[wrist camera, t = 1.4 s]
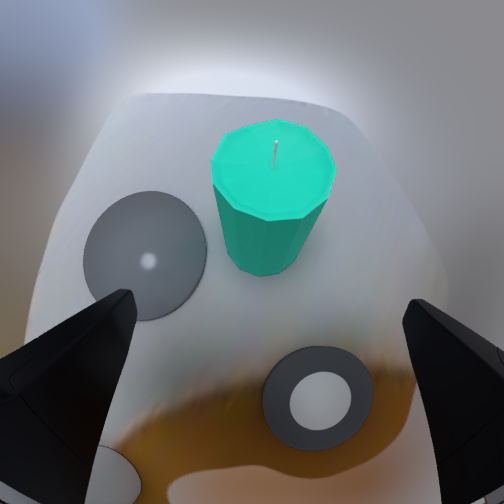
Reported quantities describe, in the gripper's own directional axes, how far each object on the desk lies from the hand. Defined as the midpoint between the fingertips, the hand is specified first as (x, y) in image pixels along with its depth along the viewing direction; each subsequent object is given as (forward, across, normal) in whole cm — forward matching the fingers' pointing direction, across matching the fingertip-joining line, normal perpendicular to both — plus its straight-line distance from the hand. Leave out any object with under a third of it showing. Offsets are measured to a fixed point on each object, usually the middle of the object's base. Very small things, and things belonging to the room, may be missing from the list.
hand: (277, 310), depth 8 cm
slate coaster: (+13, +10, +5) cm, 17 cm away
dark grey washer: (+5, -4, +13) cm, 15 cm away
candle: (+14, 0, +4) cm, 15 cm away
